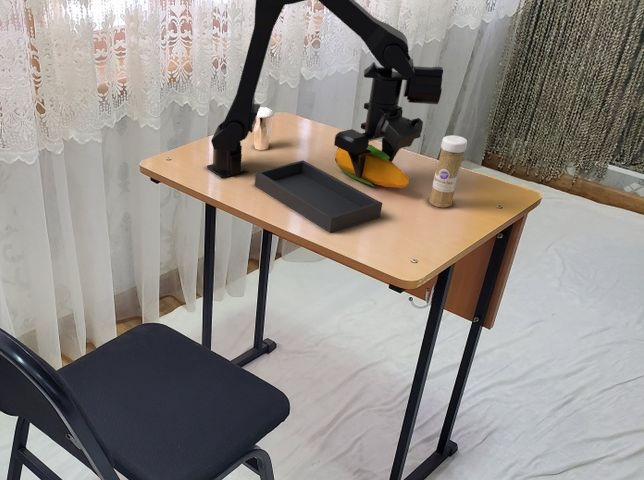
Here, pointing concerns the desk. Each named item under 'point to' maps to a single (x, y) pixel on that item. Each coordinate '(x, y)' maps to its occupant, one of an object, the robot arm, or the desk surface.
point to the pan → (318, 195)
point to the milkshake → (263, 128)
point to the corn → (373, 168)
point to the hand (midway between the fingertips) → (371, 174)
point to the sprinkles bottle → (447, 170)
